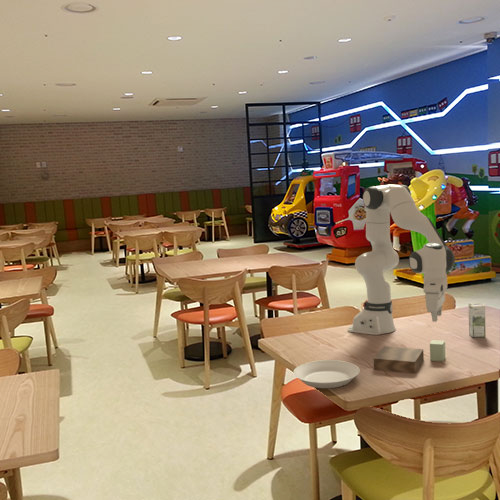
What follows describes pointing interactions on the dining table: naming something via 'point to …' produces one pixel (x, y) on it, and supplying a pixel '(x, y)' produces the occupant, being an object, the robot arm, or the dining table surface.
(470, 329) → the syrup box
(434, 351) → the sage block
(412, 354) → the walnut block
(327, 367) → the white plate
